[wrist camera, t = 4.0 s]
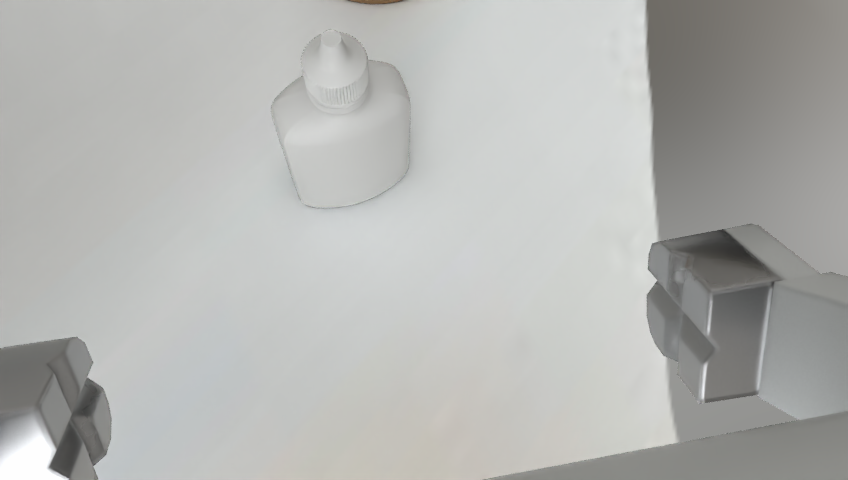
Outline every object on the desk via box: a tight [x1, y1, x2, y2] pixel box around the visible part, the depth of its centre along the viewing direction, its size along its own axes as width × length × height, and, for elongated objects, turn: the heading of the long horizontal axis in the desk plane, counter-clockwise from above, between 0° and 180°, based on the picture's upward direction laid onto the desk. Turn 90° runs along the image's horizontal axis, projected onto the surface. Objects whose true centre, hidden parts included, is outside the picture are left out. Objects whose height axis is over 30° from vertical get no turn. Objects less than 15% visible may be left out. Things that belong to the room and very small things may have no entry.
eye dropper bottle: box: [271, 29, 410, 208], centre depth 31 cm, size 4×6×12 cm
